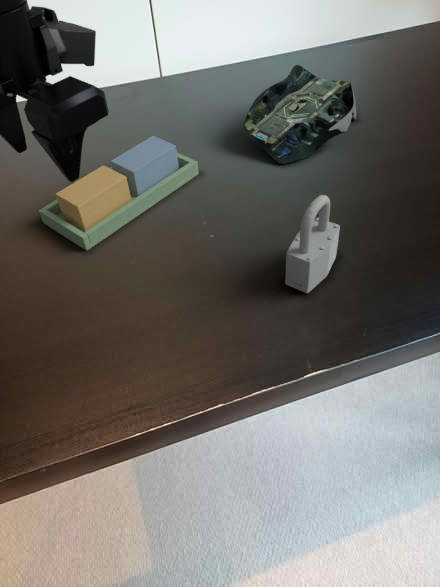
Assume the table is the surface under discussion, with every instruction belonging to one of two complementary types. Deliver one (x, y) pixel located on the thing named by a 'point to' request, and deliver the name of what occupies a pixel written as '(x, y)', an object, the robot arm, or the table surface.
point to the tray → (123, 215)
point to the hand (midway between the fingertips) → (47, 164)
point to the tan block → (94, 197)
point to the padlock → (312, 247)
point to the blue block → (147, 164)
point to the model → (300, 115)
